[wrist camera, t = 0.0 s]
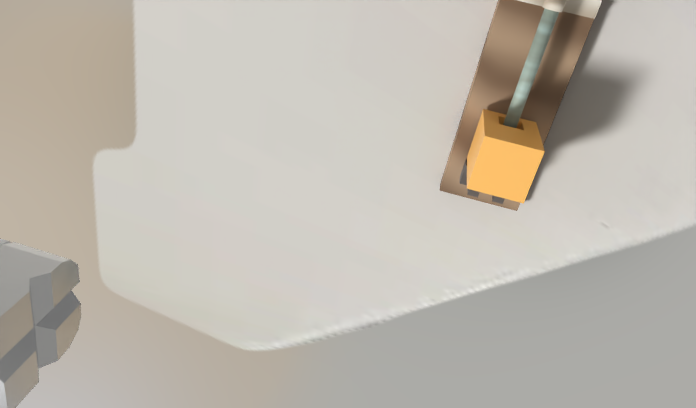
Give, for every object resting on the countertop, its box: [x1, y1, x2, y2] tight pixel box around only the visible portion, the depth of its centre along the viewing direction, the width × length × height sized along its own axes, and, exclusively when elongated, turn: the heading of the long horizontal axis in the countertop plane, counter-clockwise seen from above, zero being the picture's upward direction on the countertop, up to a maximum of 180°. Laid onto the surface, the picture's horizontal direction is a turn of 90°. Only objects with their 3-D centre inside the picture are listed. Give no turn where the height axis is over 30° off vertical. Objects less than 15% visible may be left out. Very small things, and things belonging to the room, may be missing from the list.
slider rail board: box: [440, 0, 602, 211], centre depth 50 cm, size 26×8×7 cm, turn 169°
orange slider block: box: [467, 109, 545, 203], centre depth 51 cm, size 5×5×7 cm
